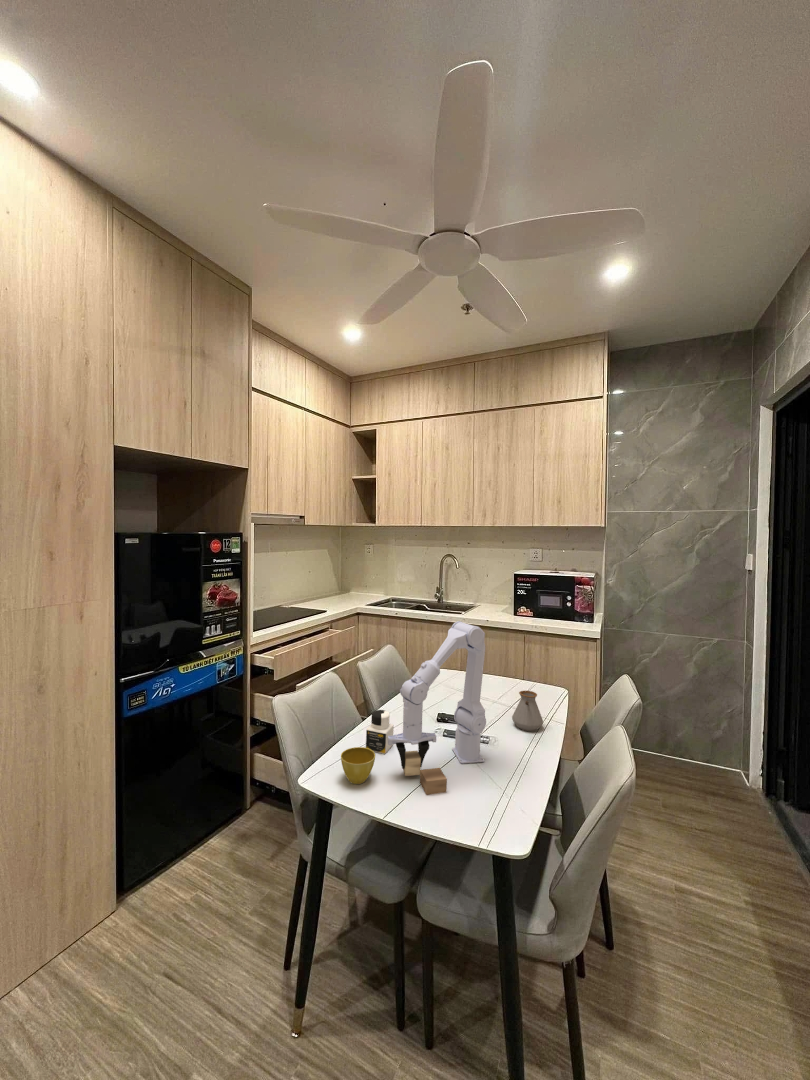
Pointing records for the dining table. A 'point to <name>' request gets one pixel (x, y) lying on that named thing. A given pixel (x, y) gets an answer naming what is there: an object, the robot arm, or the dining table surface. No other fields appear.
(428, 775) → the walnut plinth
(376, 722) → the medicine bottle
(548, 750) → the dining table surface
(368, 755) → the flower pot
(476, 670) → the robot arm
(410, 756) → the beech cube
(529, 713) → the coffee pot
